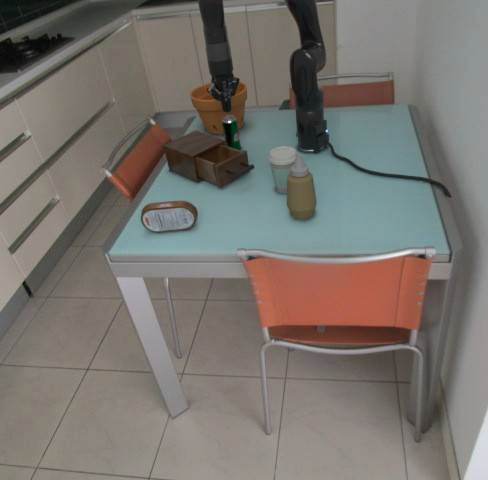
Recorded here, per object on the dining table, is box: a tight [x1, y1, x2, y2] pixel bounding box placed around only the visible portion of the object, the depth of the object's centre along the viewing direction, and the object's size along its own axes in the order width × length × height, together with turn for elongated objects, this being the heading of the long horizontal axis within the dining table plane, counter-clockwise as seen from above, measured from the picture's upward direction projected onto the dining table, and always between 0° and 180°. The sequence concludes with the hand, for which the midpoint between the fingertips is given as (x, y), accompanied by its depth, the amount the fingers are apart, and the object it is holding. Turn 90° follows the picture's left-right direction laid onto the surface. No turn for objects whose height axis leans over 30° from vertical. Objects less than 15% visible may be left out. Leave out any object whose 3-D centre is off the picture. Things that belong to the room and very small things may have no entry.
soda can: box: [222, 115, 242, 151], centre depth 160 cm, size 5×5×12 cm
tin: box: [140, 199, 199, 233], centre depth 124 cm, size 15×3×8 cm, turn 92°
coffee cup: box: [267, 145, 298, 194], centre depth 135 cm, size 8×8×12 cm
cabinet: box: [163, 129, 226, 184], centre depth 152 cm, size 15×14×9 cm
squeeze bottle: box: [286, 152, 318, 221], centre depth 121 cm, size 8×8×18 cm
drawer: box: [195, 144, 255, 190], centre depth 144 cm, size 19×12×7 cm, turn 47°
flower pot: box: [189, 81, 248, 135], centre depth 176 cm, size 21×21×15 cm
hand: (227, 111), depth 153 cm, fingers closed
